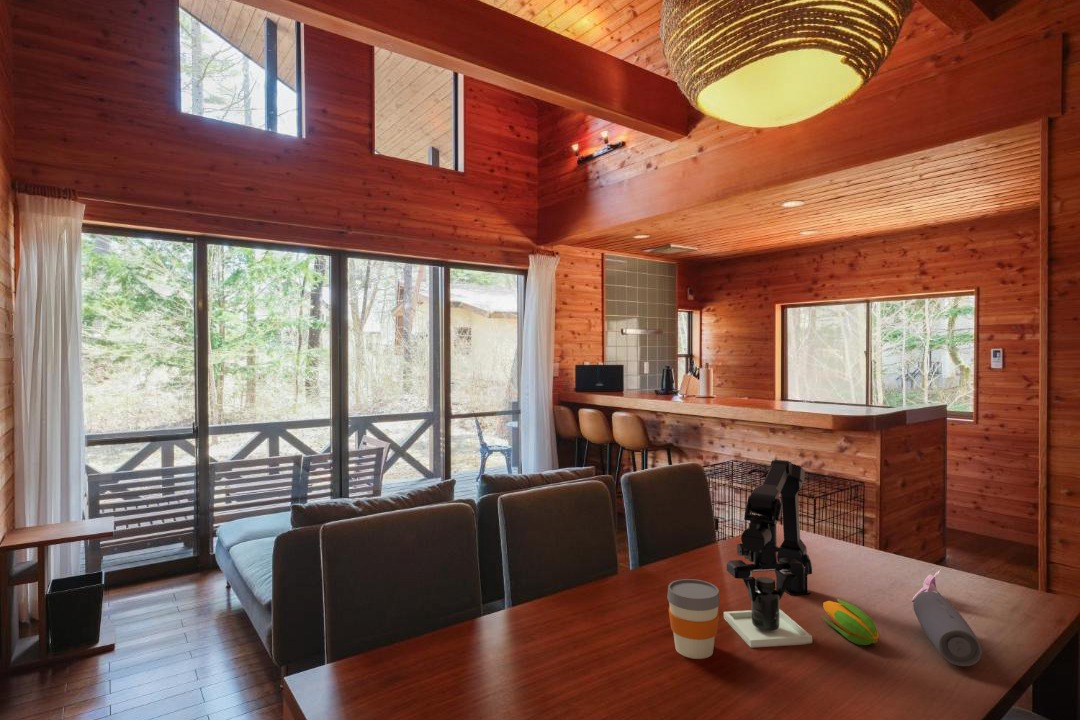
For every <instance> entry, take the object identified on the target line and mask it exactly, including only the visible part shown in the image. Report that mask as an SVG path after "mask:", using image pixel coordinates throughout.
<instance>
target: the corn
mask: <svg viewBox="0 0 1080 720" xmlns="http://www.w3.org/2000/svg"><path fill="white" fill-rule="evenodd" d="M836 601H837V602H836ZM836 601H832V600H827V601H824V602H823V603H822V604H823V605H822V606H823V609H824V611H825V613H826V614H827V616H828V617H829V618H830V619H831V620H832V621H833V622H834V623H835V624H834V623H833V622H831V621H830V620H828V619H827V618H826V617H825V616H824V615H821V617H822V618H823V619H824V621H825V622H827V624H829V625H830V627H832V628H833V629H835V630H836V631H837V632H838V633H839V634H840V635H842V636H843V637H844V638H846V639H847V640H848V641H849V642H851V643H853V644H855V645H860V646H870V645H875V644H876V643H878V641H879V639H880V638H879V637H880V633H879V631H878V629H877V626H876V624H875V622H874V620H873V618H871V617H870V616H869V615H867V614H866V613H865V612H864V611H862V610H861V609H860V608H858V607H857V606H855V605H853V604H852V603H850V602H847V601H844V600H842V599H839V598H837V600H836Z"/></svg>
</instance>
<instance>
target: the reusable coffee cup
mask: <svg viewBox="0 0 1080 720" xmlns="http://www.w3.org/2000/svg"><path fill="white" fill-rule="evenodd" d="M666 599H667V600H668V603H669V606H668V615H669V622H670V629H671V631H672V633H673V638H674V639H673V640H674V646H675V647H674V648H675V650H676V652H677V653H678V654H680V656H681V655H682V656H683V657H686V658H687V659H696V660H702V659H707V658H709V657H711V656H712V655H713V653H714V647H715V638H716V637H715V636H717V634H718V627H719V620H720V619H719V618H720V612H719V606H720V604H721V599H720V590H719V588H718V587H717V586H716V585H715V584H713V583H711V582H708V581H704V580H701V579H695V578H694V579H693V578H692V579H691V578H684V579H678V580H673V581H671V582H670V583H668V586H667V597H666Z"/></svg>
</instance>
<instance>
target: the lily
mask: <svg viewBox="0 0 1080 720" xmlns="http://www.w3.org/2000/svg"><path fill="white" fill-rule="evenodd" d="M940 571H942V567H941V568H940V569H939V570H938V571H936V572H935V573H934V574H933V575H932V574H929V575H928V576H926V578H925V579H923V580H922V581H921V583H922V586H923V587H922V588H921V589H919V590H918V592H916V593H915V595H914V596H913V598H911V601H914V600H915V598H916V597H917V596H918V595H919V594H920V593H922V592H927V591H931V592H935V593H938V594H940V595H941V596H942V594H941V593H940V592H939V591H938V589H937V586H936V585H937V584H936V578H937V576H938V575H939V573H940Z"/></svg>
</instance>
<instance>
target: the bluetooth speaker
mask: <svg viewBox="0 0 1080 720" xmlns="http://www.w3.org/2000/svg"><path fill="white" fill-rule="evenodd" d="M940 594H941V593H940ZM940 594H938V593H937V592H936V591H927V592H920V593H919V594H918V595H917V596H916V597H915V598H914V599H913V603H912V606H913V611H914V614H915V616H916V618H917V620H918V623H919V624H920V626H921V628H922V630H923V632H924V634H925V635H926V637H927V638H928V639H929V641H930V642H931V644H932V645H933V647H935V649H936V651H938V653H939V654H940V655H941V656H942V657H943V658H944V659H945V661H947V662H949V663H950V664H952V665H955V666H959V667H971V666H973V665H975V664H977V663H978V662H979V661H980V659H981V658H982V655H983V650H982V646H981V643H980V641H979V638H978V637H977V635H976V634H975V633H974V631H973V629H972V628H971V626H970V625H969V624H968V622H967V621H966V620H965V618H964V617H963V616H962V614H961V613H960V612H959V611H958V610H957V608H955V607H954V606H953V604H952V603H951V602H950V601H949V600H947V598H946V597H944V596H943V595H942V594H941V595H940Z"/></svg>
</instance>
